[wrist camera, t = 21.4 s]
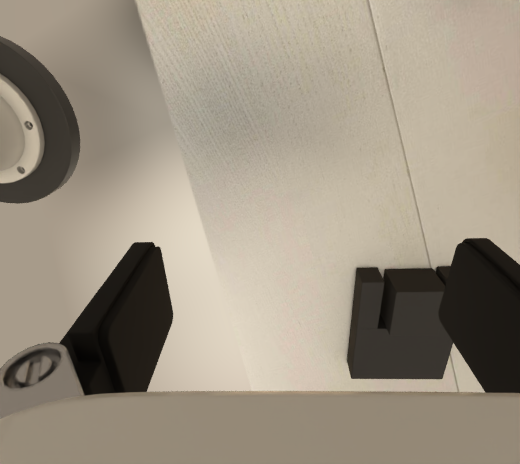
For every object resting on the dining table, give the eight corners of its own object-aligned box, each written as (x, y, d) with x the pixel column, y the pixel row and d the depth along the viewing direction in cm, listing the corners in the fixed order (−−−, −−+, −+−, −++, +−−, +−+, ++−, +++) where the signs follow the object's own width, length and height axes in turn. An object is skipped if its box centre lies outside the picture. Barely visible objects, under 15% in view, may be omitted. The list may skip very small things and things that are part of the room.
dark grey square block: (379, 310, 43) (389, 335, 39) (384, 269, 40) (396, 292, 36) (423, 309, 43) (438, 335, 39) (432, 268, 40) (449, 291, 36)
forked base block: (347, 361, 48) (351, 378, 45) (356, 267, 41) (362, 282, 38) (433, 361, 47) (442, 379, 45) (458, 266, 40) (471, 281, 37)
